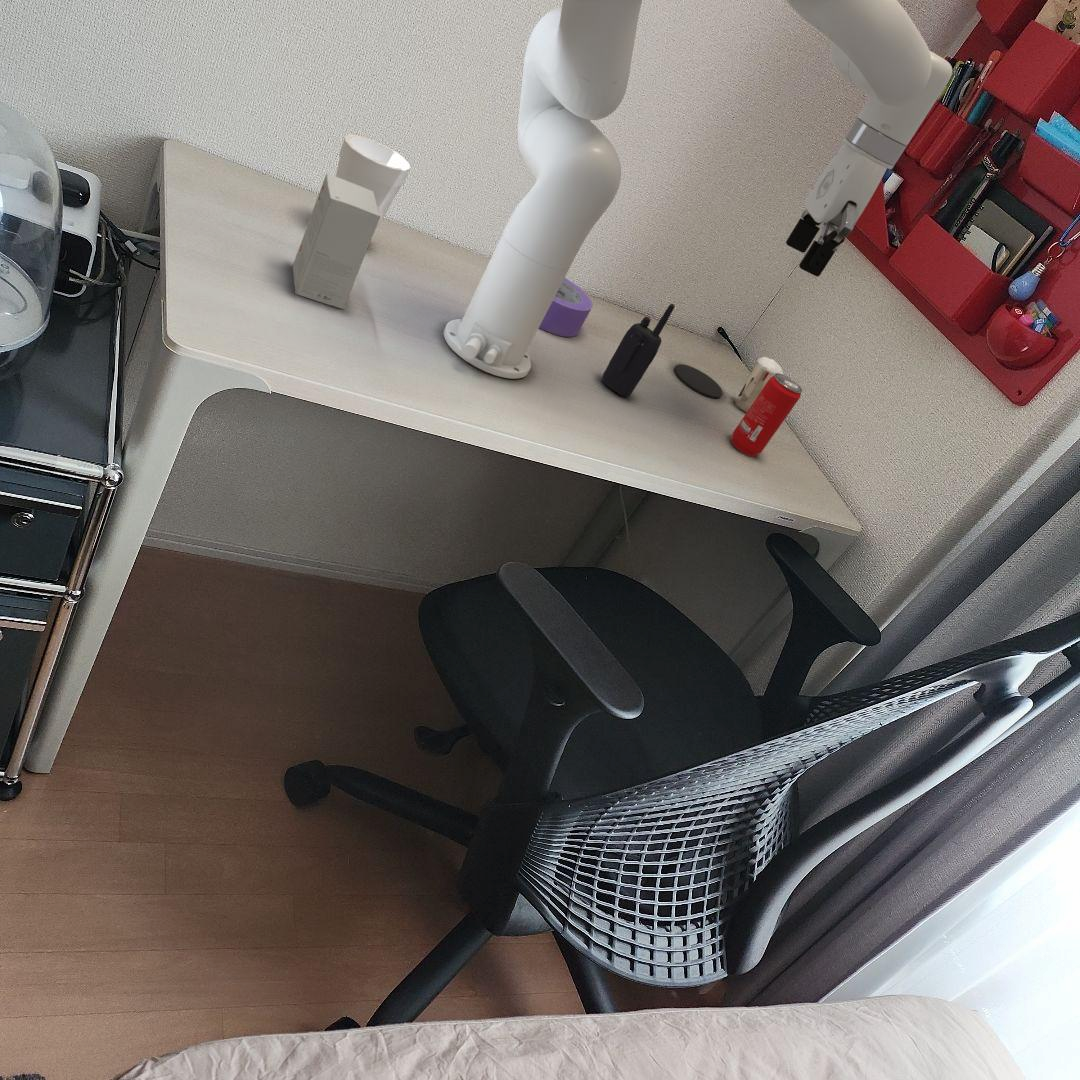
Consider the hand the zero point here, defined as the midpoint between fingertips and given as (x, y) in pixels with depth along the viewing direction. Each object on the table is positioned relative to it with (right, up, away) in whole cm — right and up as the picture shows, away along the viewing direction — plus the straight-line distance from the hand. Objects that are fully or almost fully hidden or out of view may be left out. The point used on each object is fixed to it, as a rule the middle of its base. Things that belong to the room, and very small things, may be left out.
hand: (801, 259), depth 142 cm
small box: (-65, -8, -14) cm, 67 cm away
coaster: (-11, -14, +24) cm, 29 cm away
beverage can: (-6, -26, +11) cm, 28 cm away
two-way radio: (-26, -18, +5) cm, 32 cm away
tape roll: (-36, -5, +15) cm, 39 cm away
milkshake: (-3, -18, +24) cm, 30 cm away
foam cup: (-65, +4, +2) cm, 65 cm away
